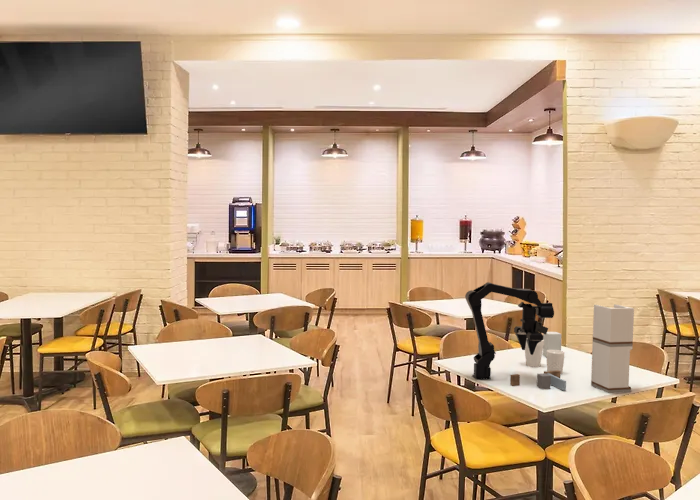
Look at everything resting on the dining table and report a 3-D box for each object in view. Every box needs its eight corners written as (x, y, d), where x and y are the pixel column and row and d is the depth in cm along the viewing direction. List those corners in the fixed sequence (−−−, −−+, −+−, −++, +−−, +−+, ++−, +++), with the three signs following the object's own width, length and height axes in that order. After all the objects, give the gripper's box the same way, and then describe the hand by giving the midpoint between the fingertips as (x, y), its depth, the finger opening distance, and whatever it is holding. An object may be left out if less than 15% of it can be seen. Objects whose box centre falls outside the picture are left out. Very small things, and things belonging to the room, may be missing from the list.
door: (546, 382, 250) (546, 373, 250) (551, 382, 250) (551, 373, 250) (563, 390, 238) (564, 381, 237) (568, 390, 238) (568, 380, 238)
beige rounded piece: (565, 375, 263) (565, 353, 263) (547, 374, 265) (547, 352, 264) (562, 371, 271) (562, 350, 270) (544, 370, 272) (545, 349, 272)
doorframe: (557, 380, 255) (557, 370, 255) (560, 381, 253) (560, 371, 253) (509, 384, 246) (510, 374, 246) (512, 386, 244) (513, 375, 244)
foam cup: (522, 366, 279) (522, 340, 278) (523, 362, 287) (524, 336, 287) (542, 368, 275) (543, 341, 274) (543, 364, 284) (544, 338, 283)
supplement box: (561, 358, 298) (562, 334, 297) (546, 358, 298) (547, 333, 297) (556, 355, 305) (557, 331, 305) (542, 354, 305) (543, 331, 305)
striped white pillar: (630, 392, 238) (634, 308, 237) (608, 393, 236) (611, 308, 234) (612, 384, 249) (615, 304, 248) (591, 385, 247) (593, 304, 246)
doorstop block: (541, 389, 240) (541, 376, 240) (536, 386, 244) (537, 373, 244) (550, 388, 241) (550, 375, 241) (545, 386, 245) (546, 373, 245)
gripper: (555, 321, 247) (554, 357, 248) (537, 314, 266) (536, 347, 266) (530, 321, 246) (529, 357, 247) (514, 314, 264) (512, 347, 265)
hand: (527, 352), depth 256 cm, fingers open, 9 cm apart
